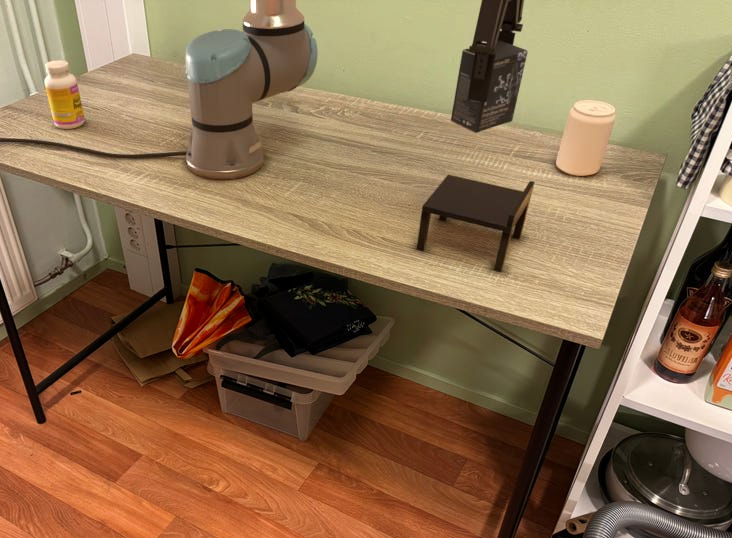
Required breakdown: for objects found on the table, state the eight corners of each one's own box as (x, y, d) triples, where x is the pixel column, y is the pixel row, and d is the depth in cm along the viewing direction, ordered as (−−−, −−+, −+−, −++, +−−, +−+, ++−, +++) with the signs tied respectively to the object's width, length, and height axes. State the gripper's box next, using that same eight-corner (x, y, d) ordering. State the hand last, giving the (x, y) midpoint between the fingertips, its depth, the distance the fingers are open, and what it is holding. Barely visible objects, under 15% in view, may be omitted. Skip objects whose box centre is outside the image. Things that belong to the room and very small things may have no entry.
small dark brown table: (416, 249, 111) (424, 193, 104) (441, 216, 119) (449, 163, 112) (500, 272, 106) (514, 215, 99) (521, 236, 114) (534, 181, 107)
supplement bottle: (81, 130, 148) (68, 69, 139) (51, 130, 148) (36, 69, 140) (88, 117, 153) (76, 58, 144) (59, 118, 153) (45, 58, 145)
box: (476, 134, 100) (490, 59, 93) (449, 121, 103) (460, 49, 96) (513, 122, 103) (529, 49, 96) (486, 110, 107) (499, 39, 100)
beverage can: (550, 159, 135) (566, 99, 127) (591, 159, 135) (609, 99, 127) (561, 178, 129) (578, 116, 121) (604, 178, 129) (624, 116, 121)
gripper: (529, -76, 77) (491, 119, 91) (569, -104, 91) (531, 69, 106) (464, -81, 79) (438, 109, 94) (513, -107, 94) (484, 62, 109)
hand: (487, 88), depth 100 cm, fingers closed on box, 9 cm apart
